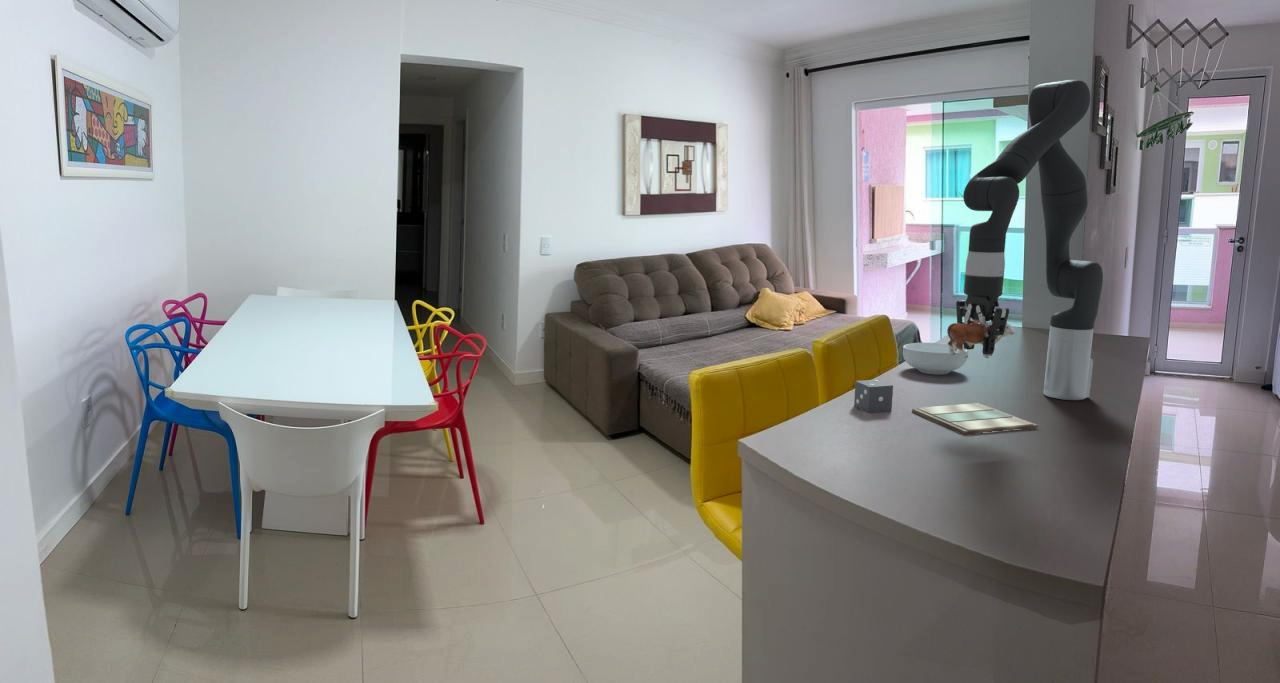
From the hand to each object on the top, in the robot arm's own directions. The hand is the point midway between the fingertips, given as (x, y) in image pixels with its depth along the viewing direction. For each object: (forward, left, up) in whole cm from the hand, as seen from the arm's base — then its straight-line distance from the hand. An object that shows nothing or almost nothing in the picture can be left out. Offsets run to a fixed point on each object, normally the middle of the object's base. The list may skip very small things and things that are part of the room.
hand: (978, 351), depth 166 cm
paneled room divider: (0, 0, -15) cm, 15 cm away
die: (+16, -14, -15) cm, 26 cm away
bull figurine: (0, 0, -1) cm, 1 cm away
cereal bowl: (-22, -44, -16) cm, 51 cm away
